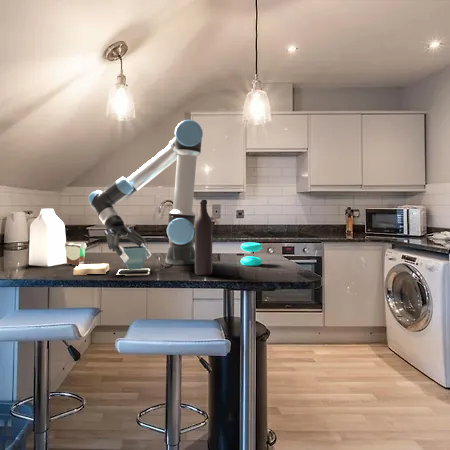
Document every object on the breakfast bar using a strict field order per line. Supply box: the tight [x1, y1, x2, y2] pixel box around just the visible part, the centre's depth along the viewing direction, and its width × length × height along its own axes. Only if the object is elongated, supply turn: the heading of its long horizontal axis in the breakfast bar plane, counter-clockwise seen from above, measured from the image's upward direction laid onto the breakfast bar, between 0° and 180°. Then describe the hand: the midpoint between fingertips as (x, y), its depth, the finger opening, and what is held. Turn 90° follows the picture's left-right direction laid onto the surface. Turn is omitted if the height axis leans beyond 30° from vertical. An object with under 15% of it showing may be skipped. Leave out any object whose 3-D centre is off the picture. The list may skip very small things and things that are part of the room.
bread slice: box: [73, 263, 110, 276], centre depth 158 cm, size 12×12×3 cm
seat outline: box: [115, 268, 151, 276], centre depth 158 cm, size 13×13×1 cm
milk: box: [28, 208, 67, 267], centre depth 179 cm, size 12×12×26 cm
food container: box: [64, 241, 87, 266], centre depth 179 cm, size 12×6×10 cm, turn 58°
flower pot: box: [121, 245, 146, 271], centre depth 157 cm, size 9×9×9 cm
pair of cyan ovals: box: [240, 242, 263, 267], centre depth 179 cm, size 10×10×10 cm
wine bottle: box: [194, 199, 213, 276], centre depth 154 cm, size 7×7×30 cm
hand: (138, 258), depth 156 cm, fingers closed on flower pot, 12 cm apart
